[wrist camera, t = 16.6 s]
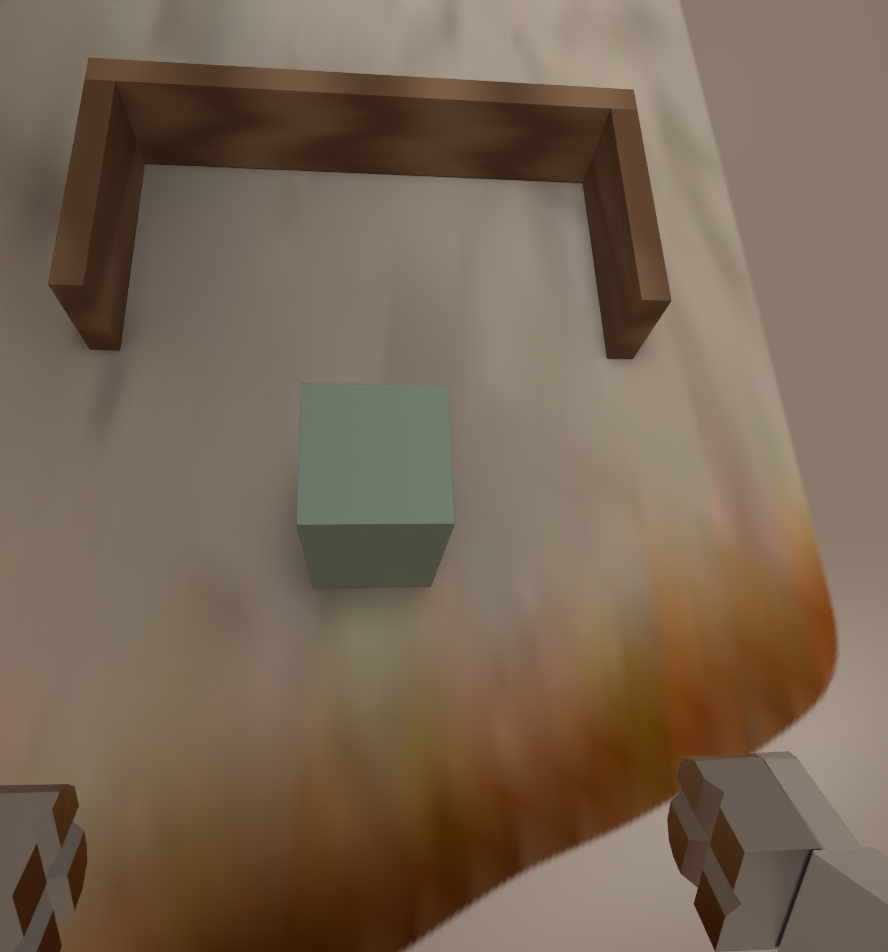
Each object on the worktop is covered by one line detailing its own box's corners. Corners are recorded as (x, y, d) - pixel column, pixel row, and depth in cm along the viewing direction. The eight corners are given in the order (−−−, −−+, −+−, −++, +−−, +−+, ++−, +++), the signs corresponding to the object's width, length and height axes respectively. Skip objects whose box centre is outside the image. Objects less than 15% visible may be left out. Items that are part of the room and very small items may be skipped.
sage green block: (313, 588, 29) (296, 524, 21) (315, 478, 30) (300, 383, 23) (430, 586, 29) (454, 523, 22) (426, 478, 31) (448, 385, 23)
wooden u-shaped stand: (89, 349, 31) (47, 284, 27) (120, 142, 35) (88, 57, 31) (632, 358, 34) (671, 300, 30) (603, 164, 38) (633, 89, 34)
